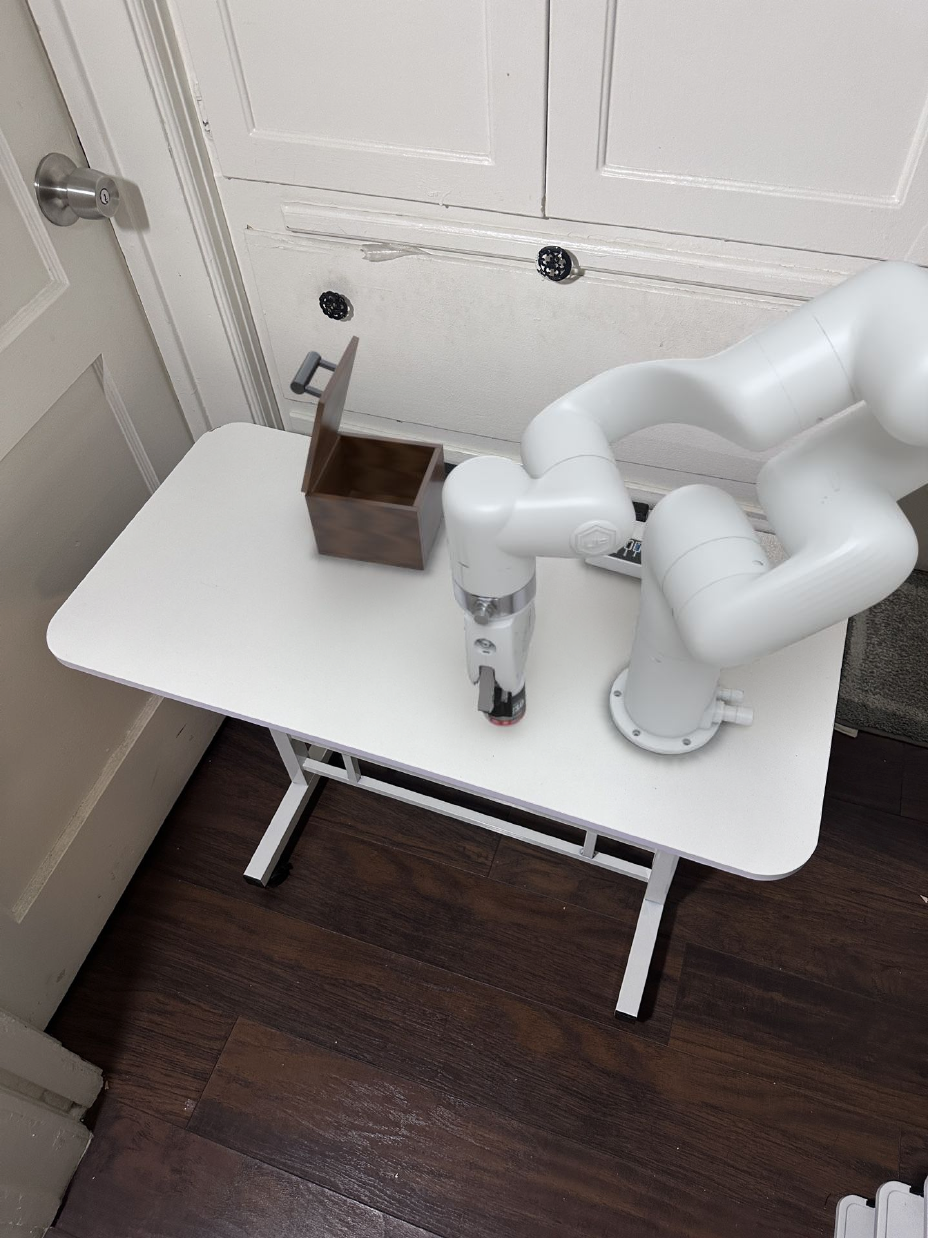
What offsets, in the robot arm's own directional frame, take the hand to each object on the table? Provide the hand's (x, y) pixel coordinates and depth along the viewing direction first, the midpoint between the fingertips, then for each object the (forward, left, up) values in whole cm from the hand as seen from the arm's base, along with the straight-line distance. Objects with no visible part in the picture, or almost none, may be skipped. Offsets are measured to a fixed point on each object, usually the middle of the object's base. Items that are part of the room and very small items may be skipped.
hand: (503, 690), depth 97 cm
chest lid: (+27, -28, +9) cm, 40 cm away
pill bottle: (0, 0, -4) cm, 4 cm away
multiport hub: (-12, -29, -9) cm, 32 cm away
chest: (+23, -28, -9) cm, 38 cm away
